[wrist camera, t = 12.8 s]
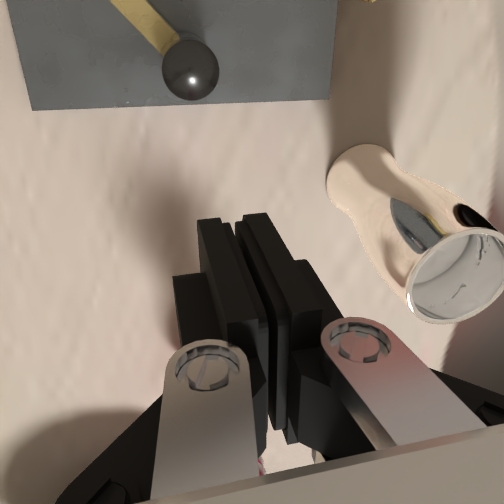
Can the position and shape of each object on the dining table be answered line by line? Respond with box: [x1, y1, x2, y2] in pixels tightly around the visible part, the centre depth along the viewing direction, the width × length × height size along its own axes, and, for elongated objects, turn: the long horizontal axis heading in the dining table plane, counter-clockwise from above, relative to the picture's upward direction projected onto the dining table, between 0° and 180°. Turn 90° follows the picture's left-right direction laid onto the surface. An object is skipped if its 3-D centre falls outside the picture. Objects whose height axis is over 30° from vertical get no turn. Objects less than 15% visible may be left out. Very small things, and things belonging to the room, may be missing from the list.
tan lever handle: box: [110, 0, 219, 101], centre depth 27 cm, size 8×3×5 cm, turn 42°
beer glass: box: [326, 144, 504, 324], centre depth 33 cm, size 7×7×15 cm
